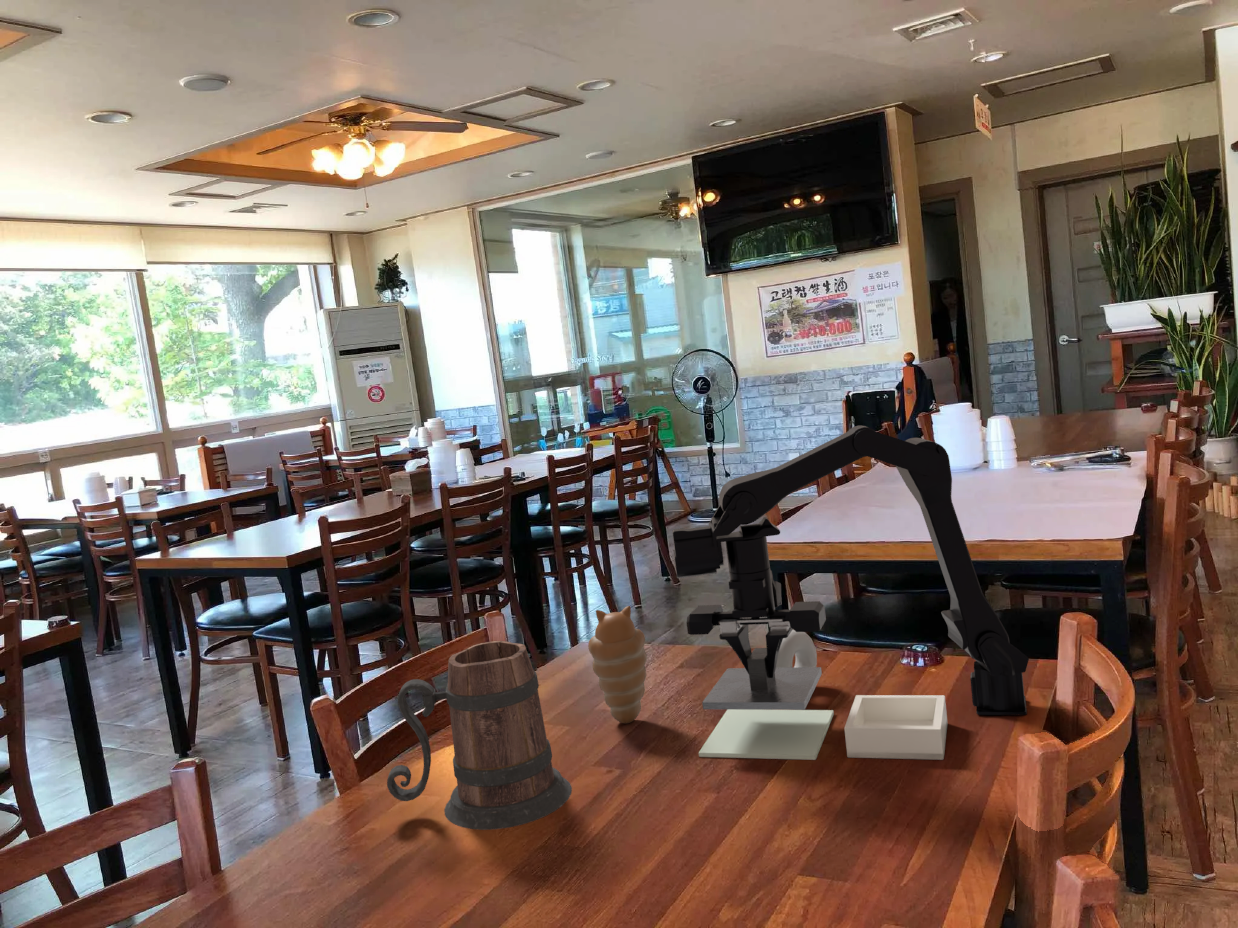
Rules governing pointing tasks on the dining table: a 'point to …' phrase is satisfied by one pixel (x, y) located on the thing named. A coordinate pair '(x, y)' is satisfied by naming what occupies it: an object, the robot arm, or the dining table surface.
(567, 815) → the dining table surface
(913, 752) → the dish
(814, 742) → the mat
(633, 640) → the cat ice cream
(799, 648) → the donut
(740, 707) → the lid
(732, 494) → the robot arm
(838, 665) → the dining table surface
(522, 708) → the tankard
